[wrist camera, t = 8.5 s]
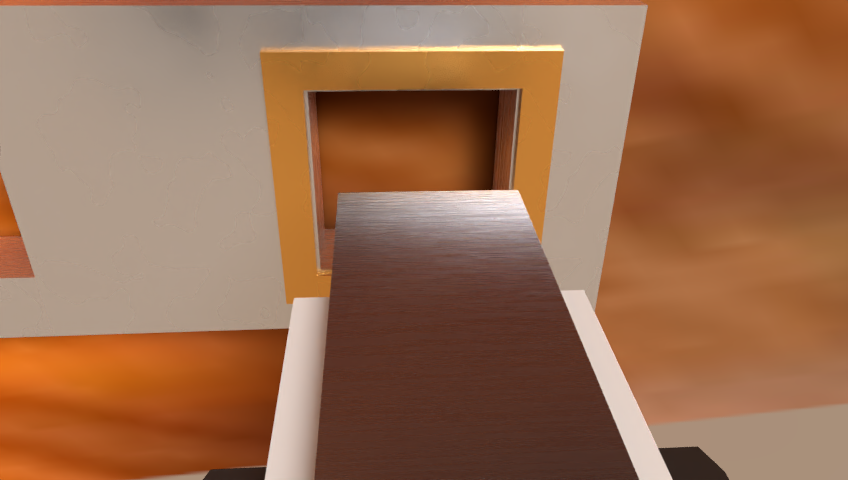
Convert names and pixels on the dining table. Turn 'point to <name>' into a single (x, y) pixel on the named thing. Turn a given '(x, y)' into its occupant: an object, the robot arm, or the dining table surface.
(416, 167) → the dining table surface
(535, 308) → the steel peg
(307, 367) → the robot arm
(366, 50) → the grey peg hole board
